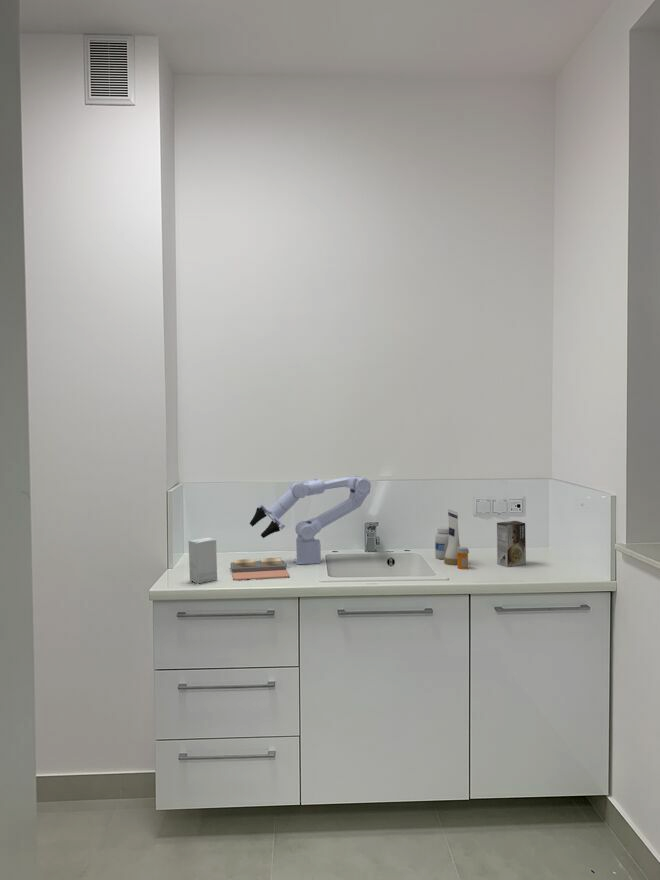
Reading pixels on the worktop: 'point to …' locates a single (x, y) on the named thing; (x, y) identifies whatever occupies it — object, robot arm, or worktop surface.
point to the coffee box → (511, 543)
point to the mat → (261, 575)
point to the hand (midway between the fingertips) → (256, 530)
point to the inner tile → (271, 561)
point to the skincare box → (202, 560)
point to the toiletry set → (451, 544)
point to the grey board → (257, 568)
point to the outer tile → (245, 563)
